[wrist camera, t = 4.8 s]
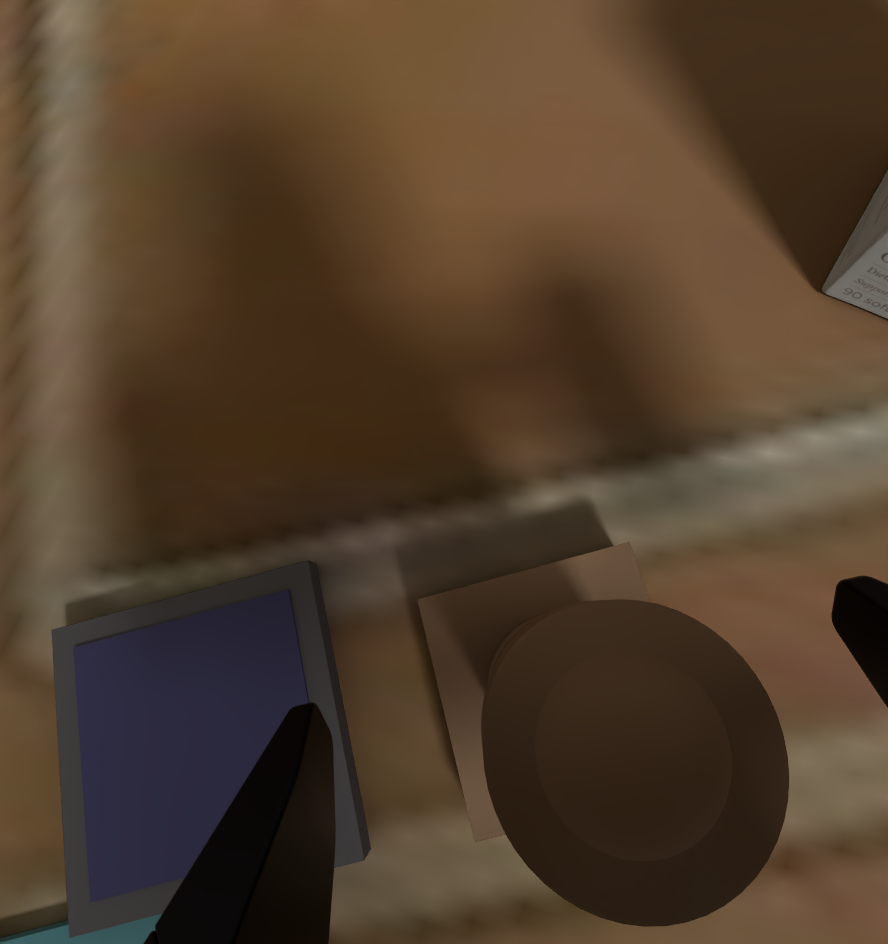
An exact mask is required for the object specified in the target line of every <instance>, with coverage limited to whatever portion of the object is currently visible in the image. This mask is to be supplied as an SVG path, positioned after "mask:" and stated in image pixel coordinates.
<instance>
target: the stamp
mask: <svg viewBox="0 0 888 944" xmlns="http://www.w3.org/2000/svg"><path fill="white" fill-rule="evenodd" d="M417 601H418V605H419V609H420V614H421V618H422V622H423V626H424V630H425V635H426V639H427V643H428V647H429V651H430V655H431V660H432V664H433V668H434V672H435V676H436V681H437V685H438V689H439V693H440V697H441V702H442V706H443V710H444V714H445V718H446V723H447V727H448V731H449V735H450V739H451V743H452V748H453V752H454V756H455V760H456V764H457V769H458V773H459V777H460V781H461V785H462V790H463V794H464V798H465V802H466V806H467V811H468V815H469V819H470V823H471V827H472V831H473V836H474V840H475V842H478V841H482V840H485V839H489V838H493V837H497V836H501V835H504V834H506V835H507V837H508V839H509V841H510V842H511V844H512V846H513V847H514V849H515V850H516V852H517V853H518V854H519V856H520V857H521V858H522V859H523V861H524V862H525V863H526V865H527V866H528V867H529V868H530V869H531V870H532V871H533V872H534V873H535V874H536V875H537V876H538V878H539V879H540V880H541V881H542V882H543V883H544V884H546V885H547V886H548V887H549V888H551V889H552V890H553V891H554V892H556V893H557V894H558V895H560V896H561V897H562V898H564V899H565V900H567V901H569V902H570V903H572V904H574V905H575V906H577V907H579V908H580V909H582V910H584V911H587V912H589V913H591V914H594V915H596V916H598V917H601V918H604V919H607V920H611V921H615V922H618V923H622V924H629V925H636V926H668V925H674V924H680V923H685V922H689V921H692V920H694V919H697V918H700V917H703V916H706V915H708V914H710V913H712V912H714V911H715V910H717V909H719V908H721V907H723V906H725V905H726V904H727V903H729V902H730V901H731V900H733V899H734V898H735V897H736V896H738V895H739V894H740V893H742V892H743V891H744V889H745V888H746V887H747V886H748V885H749V884H750V883H751V882H752V881H753V880H754V879H755V878H756V877H757V875H758V874H759V872H760V871H761V869H762V868H763V867H764V865H765V864H766V862H767V861H768V859H769V857H770V855H771V853H772V851H773V849H774V847H775V845H776V843H777V841H778V838H779V835H780V832H781V829H782V826H783V823H784V819H785V813H786V808H787V802H788V790H789V769H788V756H787V751H786V746H785V741H784V736H783V732H782V729H781V726H780V723H779V720H778V717H777V714H776V711H775V709H774V707H773V705H772V703H771V700H770V698H769V696H768V694H767V692H766V691H765V689H764V687H763V686H762V684H761V682H760V681H759V679H758V677H757V676H756V674H755V673H754V672H753V670H752V669H751V668H750V667H749V665H748V664H747V663H746V661H745V660H744V659H743V658H742V657H741V656H740V655H739V654H738V653H737V651H736V650H735V649H734V648H733V647H732V646H731V645H730V644H729V643H728V642H726V641H725V640H724V639H723V638H721V637H720V636H719V635H718V634H716V633H715V632H714V631H713V630H711V629H710V628H708V627H707V626H705V625H704V624H702V623H700V622H699V621H697V620H696V619H694V618H692V617H690V616H688V615H685V614H683V613H681V612H679V611H677V610H674V609H671V608H668V607H665V606H662V605H659V604H655V603H651V602H650V599H649V596H648V593H647V591H646V588H645V585H644V582H643V579H642V577H641V574H640V571H639V568H638V565H637V562H636V560H635V557H634V554H633V551H632V548H631V545H630V543H629V542H627V543H624V544H620V545H616V546H612V547H609V548H605V549H601V550H598V551H594V552H590V553H587V554H583V555H579V556H575V557H572V558H568V559H564V560H561V561H557V562H553V563H549V564H546V565H542V566H538V567H535V568H531V569H527V570H524V571H520V572H516V573H512V574H509V575H505V576H501V577H498V578H494V579H490V580H487V581H483V582H479V583H475V584H472V585H468V586H464V587H461V588H457V589H453V590H449V591H446V592H442V593H438V594H435V595H431V596H427V597H424V598H420V599H417Z"/></svg>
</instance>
